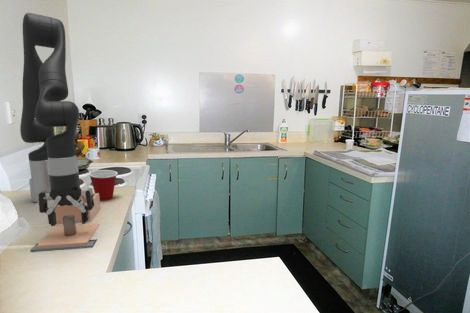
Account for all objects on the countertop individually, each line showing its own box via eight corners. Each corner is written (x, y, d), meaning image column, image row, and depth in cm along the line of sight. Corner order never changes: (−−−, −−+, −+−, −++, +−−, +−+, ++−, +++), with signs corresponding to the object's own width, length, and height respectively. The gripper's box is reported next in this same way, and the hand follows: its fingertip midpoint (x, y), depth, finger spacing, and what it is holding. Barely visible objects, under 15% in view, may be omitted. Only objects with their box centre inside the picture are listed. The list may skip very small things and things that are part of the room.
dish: (52, 226, 99) (49, 206, 97) (65, 212, 110) (64, 194, 109) (91, 224, 101) (89, 204, 99) (100, 211, 112) (99, 193, 111)
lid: (37, 248, 83) (34, 227, 82) (56, 228, 96) (53, 210, 94) (87, 244, 85) (85, 224, 84) (99, 226, 98) (97, 207, 97)
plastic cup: (109, 206, 117) (107, 176, 115) (85, 204, 119) (82, 174, 117) (124, 197, 128) (123, 170, 126) (102, 195, 130) (100, 168, 128)
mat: (30, 251, 82) (30, 249, 82) (51, 230, 96) (51, 228, 96) (92, 247, 85) (92, 245, 85) (104, 226, 99) (104, 225, 98)
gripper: (93, 167, 91) (98, 217, 94) (42, 169, 89) (48, 220, 92) (86, 173, 84) (91, 227, 87) (30, 175, 82) (37, 231, 85)
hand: (69, 224), depth 90 cm, fingers open, 8 cm apart
